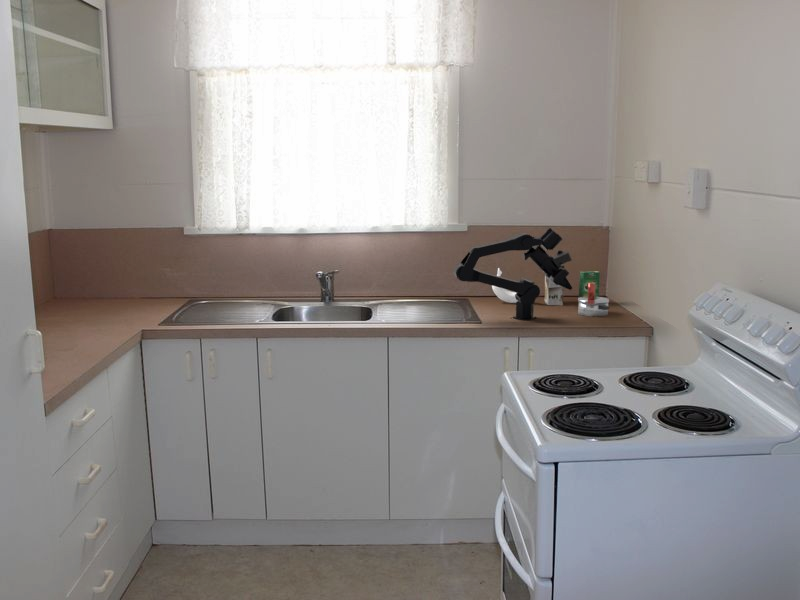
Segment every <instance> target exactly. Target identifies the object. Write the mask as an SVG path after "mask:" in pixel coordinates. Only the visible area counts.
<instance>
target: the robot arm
mask: <svg viewBox="0 0 800 600" xmlns="http://www.w3.org/2000/svg"><path fill="white" fill-rule="evenodd" d="M562 241H563V238H562V237H561V235H559V233H557V232H555V231H554V230H553V229H552V228H551V227H547V228H546V229H545V231H544V232H543V233H542V234H541V235H540V236H539V237H537V236H532V235H530V234H528V233H526V232H520V233H517V234H516V235H512V236H511V237H509V238H507V239H504V240H500V241H496V242H491V243H487V244H483V245H478V246H471V247H470V248H469V251H468V252H467V253H466V254H465V256H464V257H463V258H462V260H461V261H460V262H459V263H458V264H456V265H455V266H454V268H453V274H454V276H455V277H456V278H457V279H458V280H459V281H461V282H468V283H481V284H485V285H489V286H491V287H492V286H496V287H500V288H503V289H506V290H508V291H510V292H515V293H516V294H515V297H516V300H518V301H517V302H516V303H515V305H516V306H515V315H513V316H512V318H513V319H515V320H523V321H529V320H534V319H537V316H534V311H535V310H534V303H535V301H536V299H537V298H539V296H540V294H541V289H540V287H539V286H538V285H537V284H535V283H536V282H534V281H533V280H532V279H525V278H523V277H522V276H521V277H520V279H519V280H514V279H510V278H506V277H502V276H500V277H499V276H497V275H494V274H492V273H487V272H485V271H481V270H477V269H476V268H475V267H476V265H477V263H478V260H479V259H480V258H482V257H486V256H487V257H488V256H491V255H496V254H500V253H504V252H509V251H510V252H511V251H523V252H522V259H523V260H525V261H527V260H528V259H530V260H531V261H532V262H533V263H534V264H535V265H536V266H537V267H538V268H539V269H540V270H541V271H542V272H543V275H544V277H545V276H546V277H547V278H550V277H551V281H552V282H554V283H555V284H556V285H560V286H562V287H564V289H567V290H569V291H571V290H572V289H573V287H572V284H571V283H570V282H569V280H568V279H567V277H568V275H569V274H570V272H569V271H568V270H567V269H566V268H565V267H564V268H561V267H562V266H561V265H562V264H563V265H564V264H566V263H568V262H571V261H572V260H573V259H572V256H571V254H570V253H569V251H567V250H565V251H563V250H560V249H559V250H557V251H556V255H554V256H552V255H550V254H549V253H548V251H553V250H554V249H555V248H556V247H557V246H558V245H559V244H561V242H562ZM542 247H543V248H544V249H543V248H542ZM525 251H526V252H525ZM533 318H534V319H533Z"/></svg>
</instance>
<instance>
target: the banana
mask: <svg viewBox="0 0 800 600" xmlns="http://www.w3.org/2000/svg"><path fill="white" fill-rule="evenodd" d="M502 273H503V272H502V270H501V269H500V267H498V268H497V273H496V276H499V277H502V276H501V275H502ZM491 288H492V291H493V293H494V294H495V295H496V297H497V298H498V299H500V300H501V301H503V302H505V303H508V304H516V302H517V301H518V300H516V297H515V294H516V292H514V291H511V290H507V289H503V288H500V287H496V286H492V285H491Z"/></svg>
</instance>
